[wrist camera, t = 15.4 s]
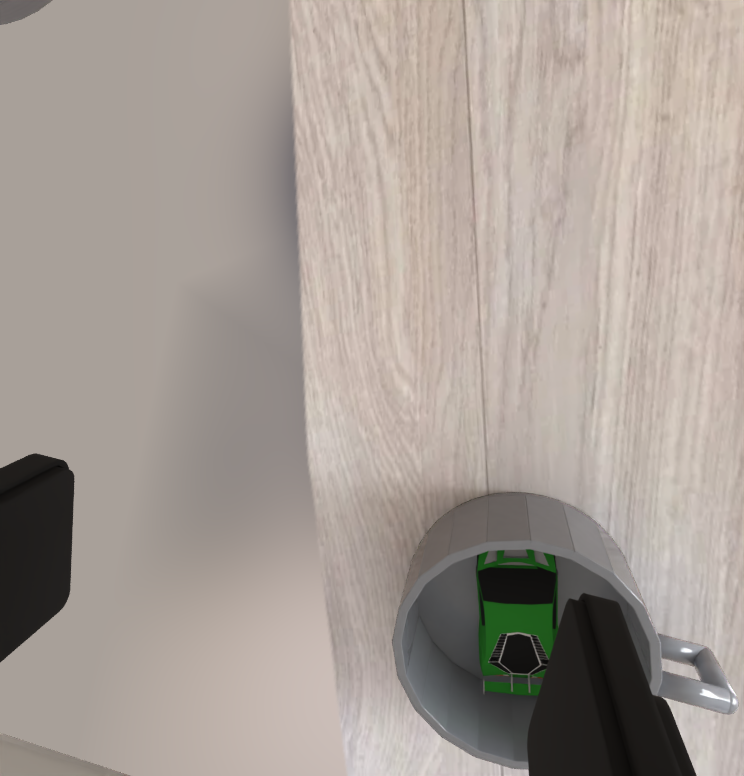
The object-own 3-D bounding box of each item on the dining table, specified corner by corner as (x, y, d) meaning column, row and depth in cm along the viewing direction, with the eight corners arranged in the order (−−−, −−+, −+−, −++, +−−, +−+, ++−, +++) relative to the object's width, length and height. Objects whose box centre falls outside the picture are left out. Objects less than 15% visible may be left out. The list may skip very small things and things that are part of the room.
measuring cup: (393, 655, 38) (374, 727, 32) (431, 469, 35) (417, 512, 29) (671, 734, 35) (705, 828, 30) (741, 541, 32) (794, 604, 26)
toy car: (472, 517, 34) (470, 535, 32) (557, 518, 33) (561, 537, 31) (480, 669, 36) (479, 695, 34) (560, 673, 35) (564, 701, 33)
